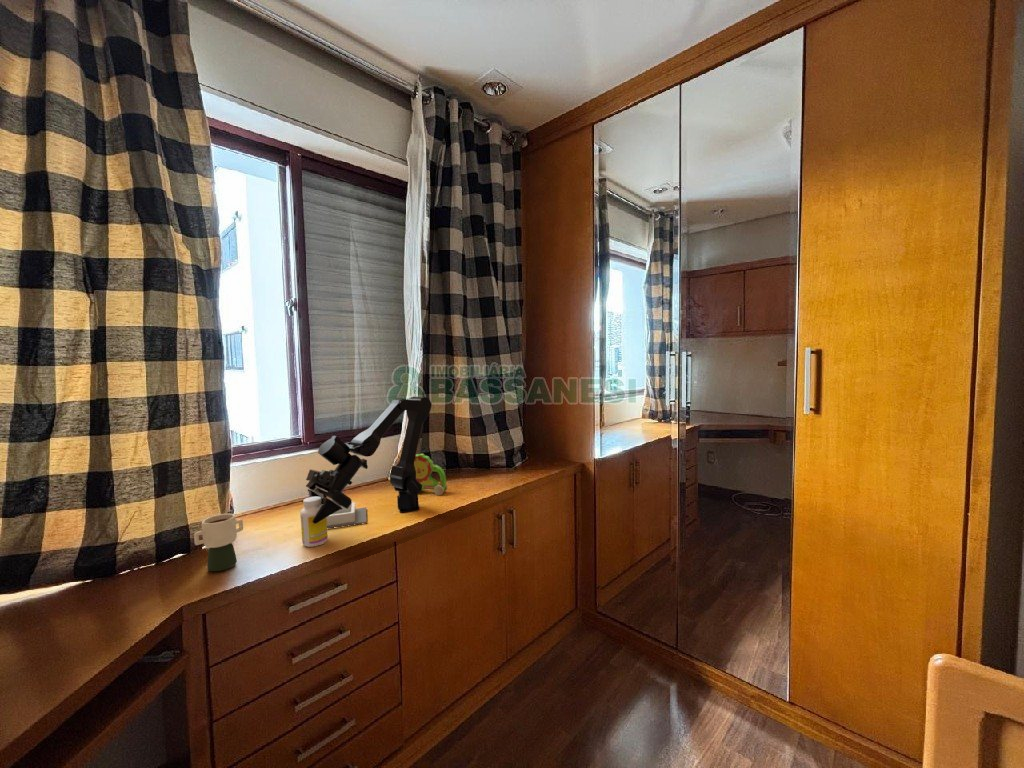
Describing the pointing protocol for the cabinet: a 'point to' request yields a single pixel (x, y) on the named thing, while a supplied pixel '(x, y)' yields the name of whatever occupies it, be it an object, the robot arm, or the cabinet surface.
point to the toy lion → (429, 474)
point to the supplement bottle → (311, 531)
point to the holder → (347, 517)
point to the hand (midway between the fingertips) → (308, 520)
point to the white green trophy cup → (219, 540)
